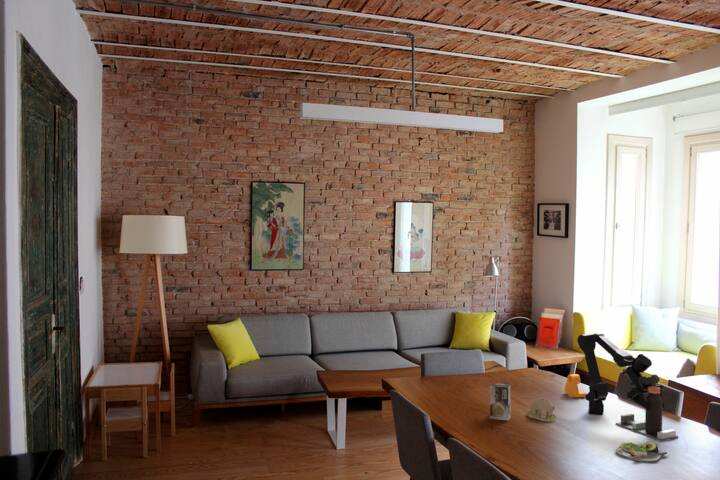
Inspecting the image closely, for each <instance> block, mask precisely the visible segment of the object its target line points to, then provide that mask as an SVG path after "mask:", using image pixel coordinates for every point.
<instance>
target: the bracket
mask: <svg viewBox="0 0 720 480" xmlns="http://www.w3.org/2000/svg"><path fill="white" fill-rule="evenodd" d="M580 383H581V377H580V374H578V373H573V374H568V375H567V378H566V382H565V385H564V393H565V394H566V395H567V396H568V397H571V398H585V395H586V394H587V393H588V392H585V391H583V390H581V389H579V388H578V387H579V386H578V385H579V384H580Z"/></svg>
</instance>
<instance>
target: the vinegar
mask: <svg viewBox="0 0 720 480" xmlns="http://www.w3.org/2000/svg"><path fill="white" fill-rule="evenodd" d="M647 394H648V395H646V397H645V401H646V402H647V404H648V406H649V408H650V409H649V410H647V409H645V420H644V421H645V431H647V432H649V433H652V434H657V432H660V431H663V408H662V399H663V397H662V398H661V397H660V396H659V394H660V388H659V387H655V386H654V385H653V386H649V387H648V393H647Z"/></svg>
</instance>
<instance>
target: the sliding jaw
mask: <svg viewBox="0 0 720 480" xmlns="http://www.w3.org/2000/svg"><path fill="white" fill-rule="evenodd" d="M634 421H635V414H634V413H627V414H621V415H620V422H621V423H623V424H625V423H628V424H631V425H632V428H634V429H640V428H645V420H641V421H637V422H634Z"/></svg>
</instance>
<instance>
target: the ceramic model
mask: <svg viewBox="0 0 720 480" xmlns="http://www.w3.org/2000/svg"><path fill="white" fill-rule="evenodd" d="M554 411H555V405H554V404H553V403H552V402H550V400H549V399H545V398H544V397H543V396H542V397H535V398H534V399H533V400H531V402H530V407H529V409H528V410H527V411H526V415H527V417H529V418H531V419H535V420H539V421H542V422H549V423H550V422H551V423H552V422H555V420H556V415H555V413H553V412H554Z"/></svg>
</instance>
